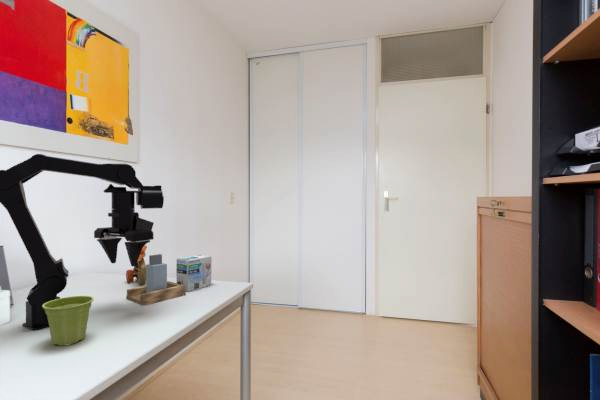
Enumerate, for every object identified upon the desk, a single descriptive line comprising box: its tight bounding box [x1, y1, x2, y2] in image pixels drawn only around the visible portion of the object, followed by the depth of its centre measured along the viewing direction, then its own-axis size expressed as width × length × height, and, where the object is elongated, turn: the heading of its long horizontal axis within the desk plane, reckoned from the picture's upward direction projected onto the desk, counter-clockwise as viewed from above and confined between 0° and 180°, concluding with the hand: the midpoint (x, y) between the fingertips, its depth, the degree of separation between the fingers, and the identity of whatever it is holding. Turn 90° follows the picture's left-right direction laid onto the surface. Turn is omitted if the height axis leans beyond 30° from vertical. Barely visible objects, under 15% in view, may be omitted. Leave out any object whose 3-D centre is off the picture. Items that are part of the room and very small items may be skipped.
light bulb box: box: [176, 254, 212, 292], centre depth 120 cm, size 11×7×11 cm, turn 147°
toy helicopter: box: [125, 244, 148, 285], centre depth 123 cm, size 8×21×14 cm, turn 38°
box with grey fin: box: [145, 253, 168, 293], centre depth 108 cm, size 4×4×12 cm
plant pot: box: [42, 295, 95, 346], centre depth 75 cm, size 9×9×9 cm
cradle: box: [126, 280, 187, 307], centre depth 108 cm, size 14×11×3 cm
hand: (123, 264), depth 94 cm, fingers open, 9 cm apart
